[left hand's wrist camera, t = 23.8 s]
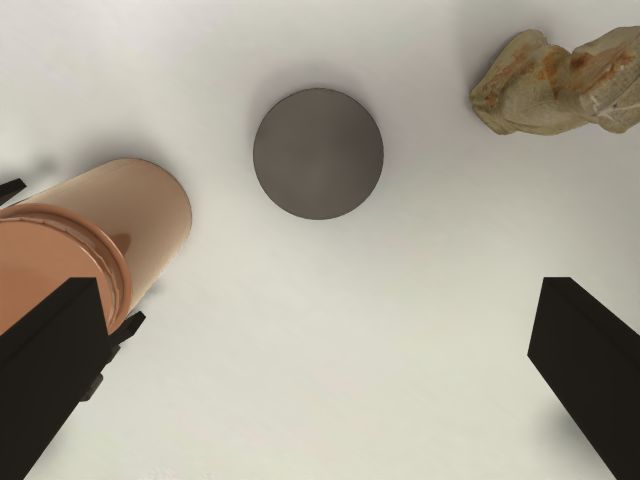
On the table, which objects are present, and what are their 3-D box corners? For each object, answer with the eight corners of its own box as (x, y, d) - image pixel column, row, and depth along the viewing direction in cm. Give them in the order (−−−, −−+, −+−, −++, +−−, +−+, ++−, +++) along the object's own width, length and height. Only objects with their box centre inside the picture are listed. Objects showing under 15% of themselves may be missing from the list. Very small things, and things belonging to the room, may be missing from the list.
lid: (290, 63, 34) (288, 63, 32) (404, 127, 36) (408, 130, 34) (236, 179, 38) (232, 185, 36) (343, 232, 39) (344, 240, 38)
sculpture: (564, 73, 34) (732, 78, 20) (492, 141, 36) (600, 187, 22) (519, 17, 33) (666, -19, 19) (446, 91, 35) (531, 107, 21)
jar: (210, 241, 40) (151, 334, 26) (117, 275, 41) (14, 381, 27) (159, 141, 36) (60, 186, 23) (60, 181, 38) (-92, 247, 24)
